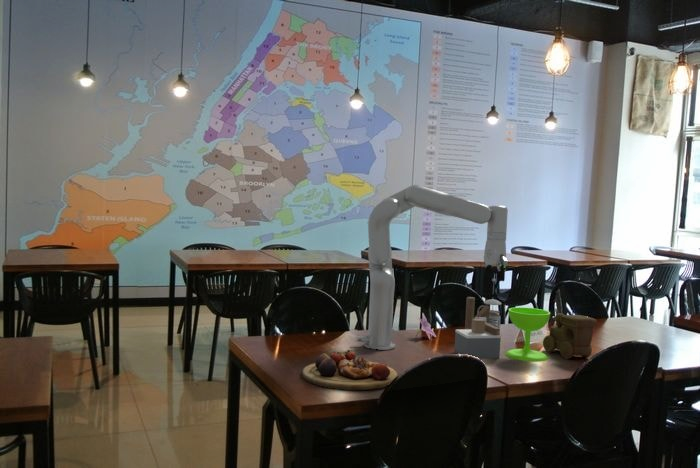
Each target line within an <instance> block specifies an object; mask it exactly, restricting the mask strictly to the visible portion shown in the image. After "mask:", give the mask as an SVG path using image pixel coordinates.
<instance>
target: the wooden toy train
mask: <svg viewBox="0 0 700 468" xmlns="http://www.w3.org/2000/svg"><path fill="white" fill-rule="evenodd" d="M554 320H555V323H556V325H553V326H550V328H549V334H548V335H546V336H544V337H543V340H542V346H543V349H544V350H545V351H546V352H547V353H549V352H550V353H553V352H555V350H558V351H559V353H560V355H561V357H562V358H563V359H565V360H570V359H571V358H573V356H575V357H579V356H580V357H582V358H584V359H588V358H589V357H590V356H592V345H591V344H592V339H593V333H594V327H597V323H598V321H597V319H595V318H593V317H589V316H586V315H581V314H566V315H565V314H564V313H560V312H558V313H556V315H555V316H554Z"/></svg>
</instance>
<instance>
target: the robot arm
mask: <svg viewBox="0 0 700 468" xmlns="http://www.w3.org/2000/svg"><path fill="white" fill-rule="evenodd" d="M415 207H416V208H419V209H423V210H427V211H430V212H433V213H435V214H436V213H437V214H440V215H444V216H448V217H455V218H459V219H462V220H466V221H469V222H472V223H476V224H478V225H484V224H486V223H487V227H486V241H485V246H484V252H483V253H484V255H483V263H484V278H485V279H486V278H487V279H491V278H492V279H493V271H494V270H493V269H494V268H493V266H494V267H495V266H496V268H497V271H496V282H504V281H505V278H506V277H505V276H506V271H507V267H508V266H507V265H508V262H509V260H507V244H506V241H507V231H508V230H507V229H508V228H507V227H508V207H507V206H505V205H485V204H482V203H479V202H475V201H472V200H468V199H466V198H465V199H464V198H461V197H458V196H455V195H453V194H450V193H447V192H443V191H440V190H437V189H433V188H431V187H425V186H424V185H423V186H422V185H419V184H412V185H410V186H408V187H406V188H404V189H403V190H400V191H398V192H396V193H394V194H391V195H390V196H388V197H386V198H384V199H382V200H381V201H380V202H379V203H378V204H376V205H375V206H374V208H373V209H372V211H371V213H370V215H369V218H368V222H367V223H368V225H367V229H368V230H367V231H368V251H367V255H368V267H369V278H370V280H369V281H370V289H369V307H368V309H369V310H368V311H369V313H368V328H367V329H368V331H367V333H366V334H365V335H363V336H356V339H355V341H356V342H361V343H363V346H364V347H365V348H367V349H370V348H371V349H370V350H376V349H378V350H379V351H382V350H383V351H386V350H387V351H388V350H393V349H395V348H396V344H395V343H394V342H393V341H392V337H393V319H394V318H393V317H394V315H393V314H394V297H395V287H396V283H395V282H396V281H395V280H396V279H395V276H394V273H393V262H392V260H393V259H392V257H393V249H392V246H391V235H390V225H391V222H392V220H394V219H395V218H397V217H398V216H399V215H400V214H401V215H402V214H404V213H405V212H407V211H409V210H411V209H413V208H415ZM378 350H377V351H378Z"/></svg>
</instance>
